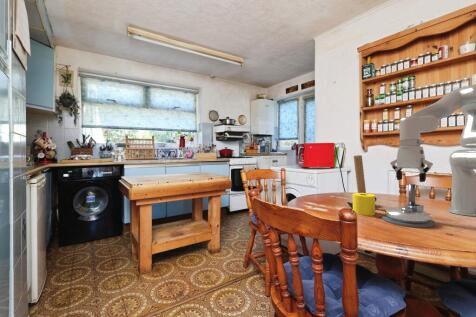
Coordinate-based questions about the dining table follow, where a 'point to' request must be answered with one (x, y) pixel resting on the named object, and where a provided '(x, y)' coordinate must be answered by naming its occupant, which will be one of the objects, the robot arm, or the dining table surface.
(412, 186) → the steel pin
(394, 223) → the base
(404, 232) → the dining table surface
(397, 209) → the grey pot lid
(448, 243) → the dining table surface
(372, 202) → the tape roll
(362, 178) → the hammer
